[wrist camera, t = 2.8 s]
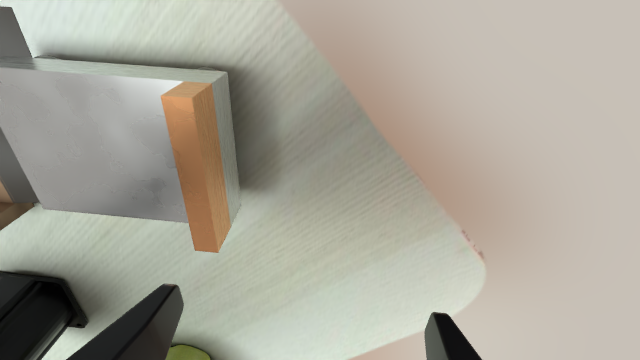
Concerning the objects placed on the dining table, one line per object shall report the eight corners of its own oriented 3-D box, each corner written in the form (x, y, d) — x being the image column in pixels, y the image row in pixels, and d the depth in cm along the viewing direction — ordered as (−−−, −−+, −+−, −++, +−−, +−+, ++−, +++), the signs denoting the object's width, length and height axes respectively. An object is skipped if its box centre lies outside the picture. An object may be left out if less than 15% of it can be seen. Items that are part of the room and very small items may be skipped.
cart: (248, 191, 21) (218, 252, 16) (86, 177, 21) (12, 232, 17) (236, 64, 16) (191, 98, 12) (34, 50, 17) (-85, 76, 12)
